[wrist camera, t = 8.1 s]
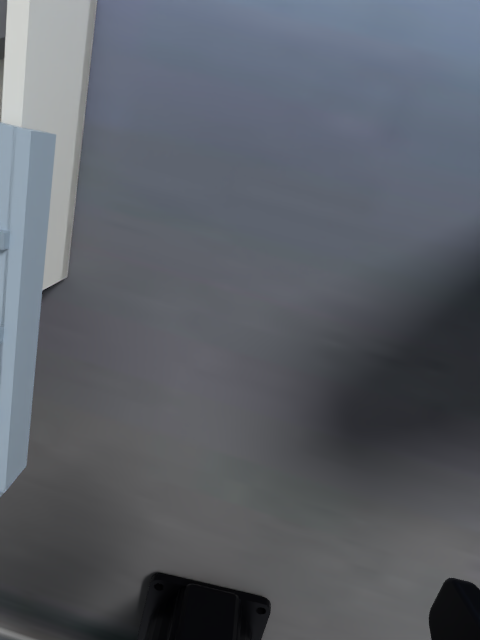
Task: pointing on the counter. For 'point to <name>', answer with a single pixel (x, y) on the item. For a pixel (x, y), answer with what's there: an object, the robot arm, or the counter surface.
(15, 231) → the lid
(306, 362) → the counter surface
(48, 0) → the tub
